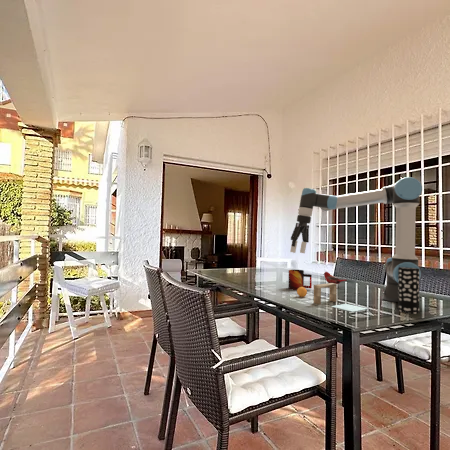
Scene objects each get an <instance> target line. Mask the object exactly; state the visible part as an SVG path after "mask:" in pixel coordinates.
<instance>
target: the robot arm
mask: <svg viewBox="0 0 450 450" xmlns="http://www.w3.org/2000/svg"><path fill="white" fill-rule="evenodd" d="M422 192H423V185H422V183H421V182H420V181H419V180H418V179H417V178H415V177H411V176H407V177H406V176H405V177H403V178H400V179H399V180H397V181H396V182H395V183H393V184H391V185H388V186H382V188H381V189H375V190H367V191H361V192H360V191H359V192H355V193H347V194H341V195H332V194H326V193H325V194H324V193H318V192H317V189H315V188H310V187H304V188H302V191H301V195H300V201H299V208H298V209H297V210H298V212H297V216H296V223H295V225H294V226H295V227H294V229H293V231H292V234H291V236H290V240H291V246H290V253H293V254H296V251H297V248H298V247H297V246H298V239H299V237H300V235H301V239H302V241H301V242H300V243H301V244H300V249H299V253H301V254H305V253H306V248H307V244H308V243H309V241H310V233H309V231H310V225H308V224H310V223H311V221H312V220H311V219H312V215H313V210H314V207H315V208H320V209H321V210H322V211H324V212H328V211H331V210H338V209H344V208H352V207H360V206H367V205H375V204H382V203H383V204H384V205H388V204H392V206H394V208H395V249H394V250H395V254H394V255H393V256H391V257H388V258H386V263H385V265H386V284H385V285H386V286H385V289H384V291H383V294H382V300H385V301H388V302H391V303H398V268H399V267H408V268H418V269H419V280H420V279H421V275H422V271H421V269H420V267H419V258H418V257H417V255H416V218H417V217H416V211H417V210H416V209H417V207H418V206H419V205H420V196H421V194H422Z"/></svg>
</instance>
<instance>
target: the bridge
mask: <svg viewBox="0 0 450 450" xmlns="http://www.w3.org/2000/svg"><path fill="white" fill-rule="evenodd" d="M337 287H338V284H334V283H328V282H327V283H322V284H321V283H319V284H313V304H315V305H321V303H322V288H323V289H324V288H329V291H328V292H329V293H328V295H329V300H328V301H330V302H335V303H336V302H337V301H338V299H337V293H338V291H337Z"/></svg>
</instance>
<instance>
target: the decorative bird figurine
mask: <svg viewBox="0 0 450 450" xmlns="http://www.w3.org/2000/svg"><path fill="white" fill-rule="evenodd" d="M323 275H324V278H325V281H326V282H327V284H328V283H334V284H337V285H339V284H340V283H342V282H346V281H347V279H340V278H339V277H336V276H334V275H333V274H331V273H330V272H328V271H324V273H323Z"/></svg>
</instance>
